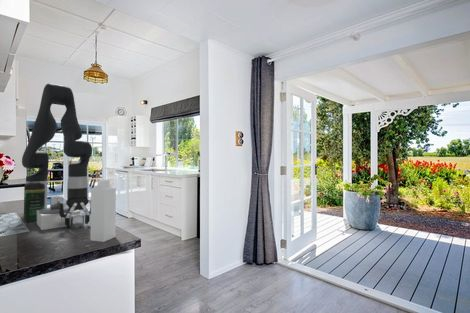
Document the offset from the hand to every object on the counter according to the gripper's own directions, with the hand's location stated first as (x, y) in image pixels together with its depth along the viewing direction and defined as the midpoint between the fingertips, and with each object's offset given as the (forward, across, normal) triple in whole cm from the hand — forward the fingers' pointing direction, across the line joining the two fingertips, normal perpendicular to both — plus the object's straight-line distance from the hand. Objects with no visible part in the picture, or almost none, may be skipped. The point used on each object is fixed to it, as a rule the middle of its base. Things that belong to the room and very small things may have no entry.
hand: (77, 224), depth 113 cm
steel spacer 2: (+1, 0, 0) cm, 1 cm away
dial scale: (+1, +5, -12) cm, 13 cm away
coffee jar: (+1, +12, -26) cm, 29 cm away
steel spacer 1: (-6, +5, -15) cm, 17 cm away
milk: (+1, -3, +24) cm, 25 cm away
